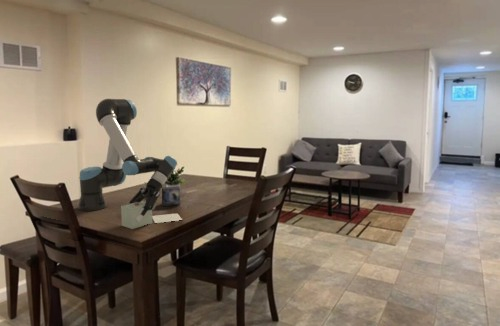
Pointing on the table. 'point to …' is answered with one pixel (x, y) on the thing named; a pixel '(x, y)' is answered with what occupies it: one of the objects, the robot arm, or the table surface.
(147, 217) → the cover
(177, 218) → the mat
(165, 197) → the small box
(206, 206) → the table surface
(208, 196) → the table surface
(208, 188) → the table surface
